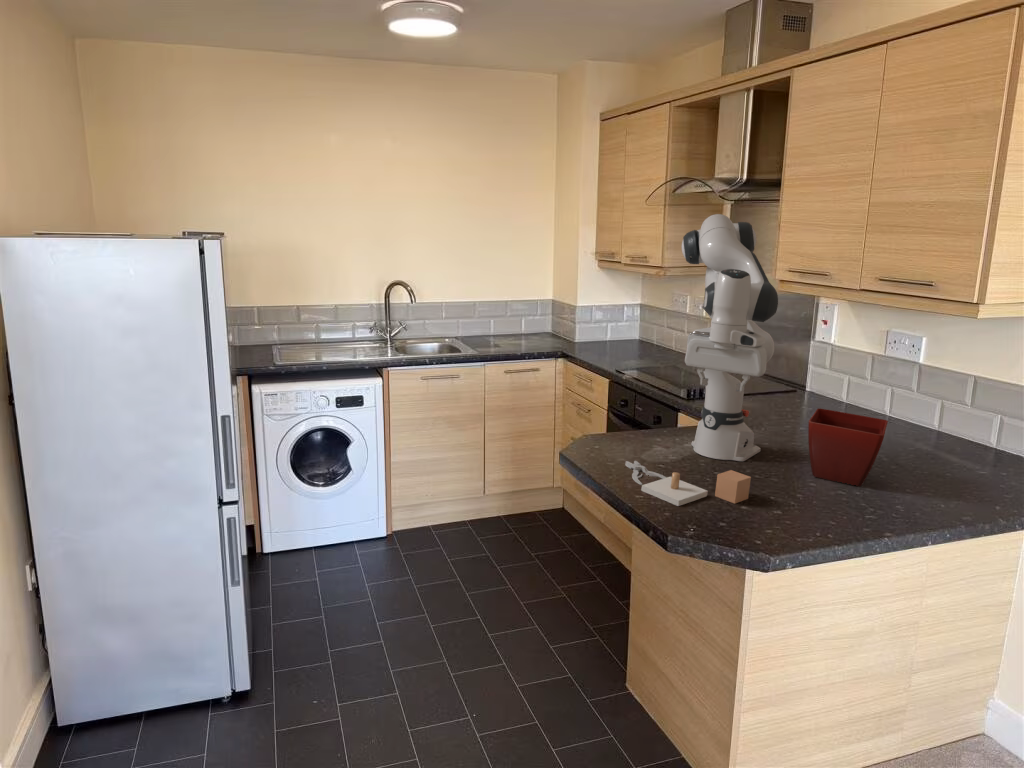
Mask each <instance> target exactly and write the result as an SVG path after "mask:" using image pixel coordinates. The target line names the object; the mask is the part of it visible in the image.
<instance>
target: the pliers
mask: <svg viewBox="0 0 1024 768" xmlns="http://www.w3.org/2000/svg"><path fill="white" fill-rule="evenodd" d="M624 463H625V464H624V465H625V466H626V467H627V468H628V469H630V470H632V469H633V470H632V471H633V472H632V474H631V477H632V480H633V481H634V482H635V483H636V484H638V485H640V486H642V485H643V483H642V482H641V481H640V480H639V479H641V478H642V477H643V473H645V475H646V476H648V475H649V476H648V477H652V478H653V477H654V478H660V479H664V478H667V477H666V476H665V475H663V474H661V473H658V472H654V471H650V470H648V468H647V467H646V466H644V465H641V463H640V462H638V460H634V461H633V463H632V462H630V461H628V460H626V461H625V462H624ZM640 472H642V473H641V474H640ZM639 474H640V475H639Z"/></svg>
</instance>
